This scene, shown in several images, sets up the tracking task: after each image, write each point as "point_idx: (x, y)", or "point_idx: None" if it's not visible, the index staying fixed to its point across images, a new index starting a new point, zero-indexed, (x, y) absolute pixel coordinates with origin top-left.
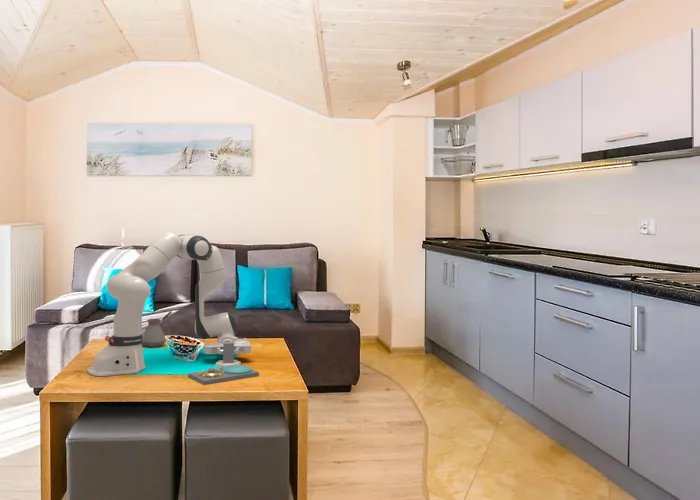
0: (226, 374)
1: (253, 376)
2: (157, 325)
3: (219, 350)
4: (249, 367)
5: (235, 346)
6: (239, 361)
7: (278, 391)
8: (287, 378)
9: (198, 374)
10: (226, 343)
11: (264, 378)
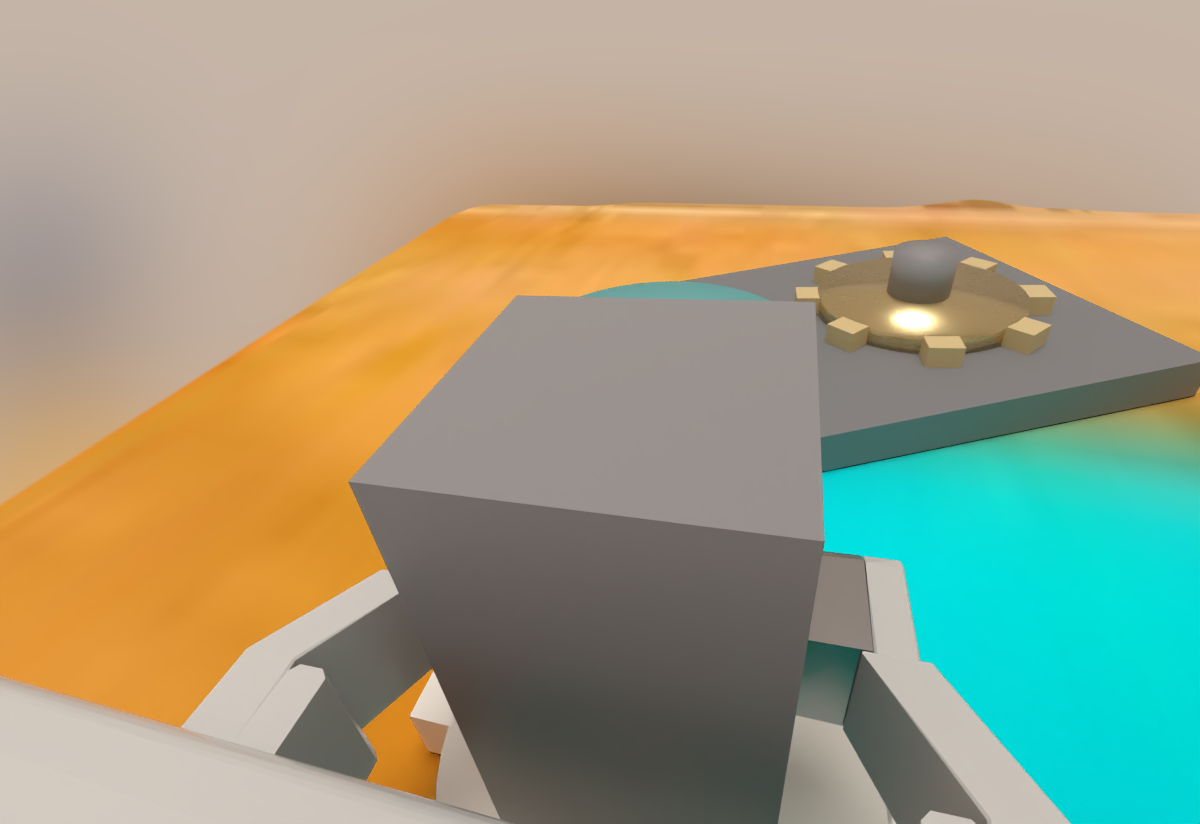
0: (773, 300)
1: None
2: None
3: (924, 686)
4: None
5: (268, 750)
6: (431, 709)
7: (557, 206)
8: (384, 291)
9: (1055, 321)
10: (719, 308)
11: (506, 302)
